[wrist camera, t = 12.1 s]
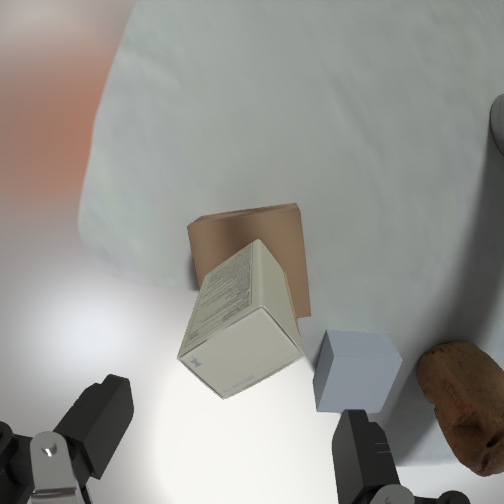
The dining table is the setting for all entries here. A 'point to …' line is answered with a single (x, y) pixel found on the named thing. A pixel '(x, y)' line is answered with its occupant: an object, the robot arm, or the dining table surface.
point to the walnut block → (247, 231)
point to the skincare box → (242, 324)
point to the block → (467, 403)
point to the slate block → (355, 371)
